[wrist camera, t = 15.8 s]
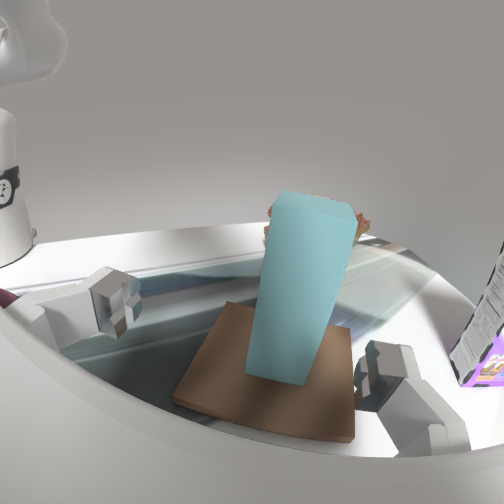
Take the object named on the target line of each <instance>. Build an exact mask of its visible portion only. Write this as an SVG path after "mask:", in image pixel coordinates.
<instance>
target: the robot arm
mask: <svg viewBox="0 0 504 504" xmlns="http://www.w3.org/2000/svg"><path fill="white" fill-rule="evenodd" d="M48 1H49V0H0V19H2V20H3V21H4V22H5V24H6V25H7V28H3V29H0V88H5V87H12V86H18V85H26V84H30V83H33V82H37V81H40V80H43V79H46V78H49V77H51V76H52V75H53V74H54V73H55V72H56V71H57V70H58V69H59V67H60V66H61V64H62V62H63V60H64V58H65V56H66V53H67V48H68V39H67V35H66V33H65V31H64V29H63V28H62V27H61V26H59V25H58V24H57V23H56V22H55V20H54V19H53V17H52V15H51V12H50V9H49V3H48ZM19 177H20V173H19V167H18V165H17V122H16V119H15V117H14V116H13V115H12V114H11V113H10V112H8V111H6V110H4V109H2V108H0V267H2V266H4V265H7V264H9V263H11V262H13V261H15V260H17V259H18V258H20V257H22V256H23V255H24V254H25V253H27V252H28V251H29V249H30V248H31V247H32V244H33V238H34V237H35V236H36V234H37V233H36V229H34V228H31V225H30V220H29V215H28V210H27V203H26V198H25V195H24V194H23V193H21V192H20V190H19V188H18V187H19V185H20V178H19ZM140 289H141V286H140V280H139V279H138V278H136V277H134V276H131V275H128V274H126V273H123V272H121V271H118V270H115V269H112V268H110V267H102V268H101V269H100V270H98V271H97V272H95V273H94V274H92V275H91V276H89V277H88V278H87V279H85V280H84V281H82V282H81V283H80V284H78V285H77V284H70V285H66V286H61V287H56V288H52V289H47V290H42V291H37V292H33V293H28V294H24V295H23V296H21V297H20V298H19V299H17V300H16V301H14V302H13V303H12V304H10V305H9V306H8V307H6V308H5V309H3V308H2V307H1V306H0V504H504V444H500V445H496V446H492V447H488V448H483V449H478V450H472V451H471V446H470V441H469V437H468V433H467V429H466V425H465V422H464V421H463V420H462V419H461V417H460V416H459V415H458V414H457V413H456V412H455V411H454V410H453V409H452V408H451V407H450V406H449V405H448V404H447V402H446V401H445V400H444V399H443V398H442V397H441V396H440V395H439V394H438V393H437V392H436V391H435V390H434V389H433V388H432V387H431V386H430V385H429V384H428V383H427V382H426V381H425V380H421V376H420V372H419V369H418V365H417V362H416V359H415V355H414V352H413V349H412V347H411V346H408V345H400V344H391V343H385V342H379V341H374V340H371V341H370V342H369V343H368V344H367V346H366V348H365V352H366V355H365V356H363V357H361V358H360V359H359V361H358V363H357V365H356V368H355V371H354V378H353V380H354V385H355V387H356V388H357V390H356V392H355V393H354V410H361V411H368V412H376V413H377V415H378V417H379V419H380V420H381V422H382V424H383V426H384V427H385V429H386V431H387V432H388V434H389V436H390V437H391V439H392V441H393V443H394V444H395V446H396V448H397V449H398V451H399V453H398V454H397V455H396V456H394V457H393V458H381V457H357V456H344V455H333V454H325V453H317V452H310V451H303V450H297V449H292V448H286V447H281V446H276V445H272V444H267V443H263V442H259V441H255V440H251V439H247V438H243V437H239V436H236V435H232V434H229V433H226V432H222V431H219V430H216V429H213V428H210V427H207V426H204V425H201V424H198V423H195V422H193V421H190V420H187V419H185V418H182V417H179V416H177V415H174V414H172V413H169V412H167V411H165V410H162V409H160V408H158V407H155V406H153V405H151V404H149V403H146V402H144V401H142V400H140V399H138V398H136V397H134V396H132V395H130V394H128V393H126V392H124V391H122V390H120V389H118V388H116V387H114V386H112V385H111V384H109V383H107V382H105V381H103V380H102V379H100V378H98V377H96V376H95V375H93V374H91V373H90V372H88V371H86V370H85V369H83V368H81V367H80V366H78V365H77V364H75V363H73V362H72V361H70V360H69V359H67V358H66V357H64V356H63V355H61V353H60V350H59V349H61V348H63V347H66V346H68V345H71V344H73V343H75V342H78V341H80V340H83V339H85V338H87V337H90V336H92V335H95V334H97V333H99V331H100V332H102V333H104V334H106V335H108V336H110V337H113V338H115V339H118V338H119V337H120V336H121V335H122V334H123V333H124V332H125V331H126V330H127V324H129V323H132V322H134V321H135V320H136V319H137V318H138V316H139V314H140V312H141V308H142V299H141V297H140V295H139V294H138V291H139V290H140Z"/></svg>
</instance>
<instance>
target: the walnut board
mask: <svg viewBox="0 0 504 504" xmlns="http://www.w3.org/2000/svg"><path fill="white" fill-rule="evenodd" d="M255 309H256V308H252V307H248V306H244V305H240V304H236V303H232V302H228V301H227V302H226V304H225V306H224V307H223V309H222V311H221V313H220V314H219V316H218V318H217V319H216V321H215V323H214V325H213V326H212V328H211V330H210V331H209V333H208V335H207V337H206V338H205V340H204V342H203V343H202V345H201V347H200V348H199V350H198V352H197V354H196V355H195V357H194V359H193V360H192V362H191V364H190V366H189V367H188V369H187V371H186V372H185V374H184V376H183V377H182V379H181V381H180V383H179V384H178V386H177V388H176V389H175V391H174V393H173V394H172V400H173V403H175V404H178V405H181V406H183V407H186V408H189V409H192V410H195V411H197V412H200V413H203V414H206V415H210V416H213V417H216V418H219V419H223V420H226V421H230V422H233V423H237V424H240V425H244V426H248V427H252V428H256V429H261V430H265V431H270V432H274V433H279V434H284V435H290V436H296V437H302V438H308V439H315V440H322V441H331V442H341V443H350V442H351V441H352V440H353V439H354V438H355V410H354V381H353V364H352V350H351V338H350V328H344V327H339V326H334V325H329V324H327V327H326V330H325V332H324V335H323V338H322V340H321V343H320V346H319V348H318V351H317V353H316V356H315V359H314V361H313V364H312V366H311V368H310V371H309V373H308V376H307V378H306V380H305V383H304V385H303V386H299V385H294V384H290V383H285V382H280V381H276V380H271V379H267V378H263V377H259V376H255V375H251V374H247V373H244V371H245V366H246V360H247V354H248V349H249V343H250V338H251V332H252V326H253V320H254V315H255Z"/></svg>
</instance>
